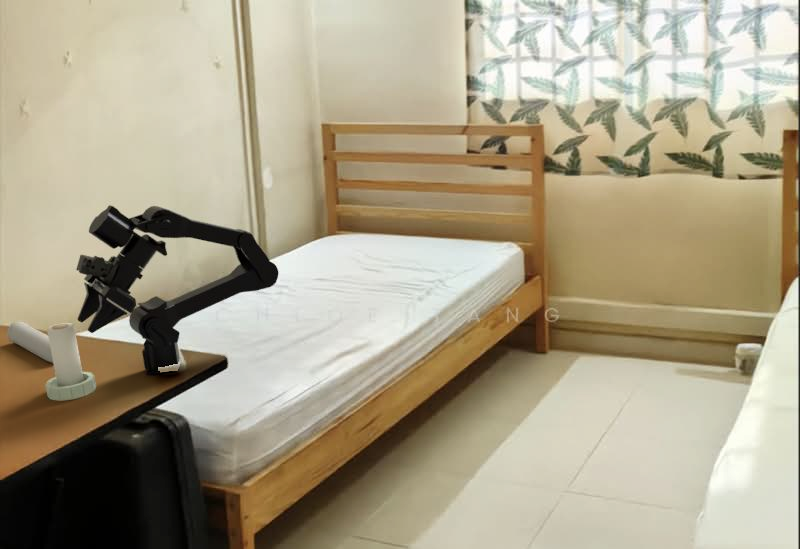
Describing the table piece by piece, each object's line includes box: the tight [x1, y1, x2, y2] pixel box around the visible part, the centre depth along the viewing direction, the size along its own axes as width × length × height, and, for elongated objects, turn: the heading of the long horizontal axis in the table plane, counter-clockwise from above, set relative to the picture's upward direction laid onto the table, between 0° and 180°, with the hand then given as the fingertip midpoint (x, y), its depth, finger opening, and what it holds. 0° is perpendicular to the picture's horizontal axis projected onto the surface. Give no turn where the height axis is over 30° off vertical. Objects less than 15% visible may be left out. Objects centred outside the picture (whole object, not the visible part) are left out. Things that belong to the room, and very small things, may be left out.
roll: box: [46, 322, 84, 387], centre depth 193 cm, size 5×5×13 cm
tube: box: [6, 320, 53, 364], centre depth 222 cm, size 5×5×25 cm
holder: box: [45, 371, 97, 402], centre depth 195 cm, size 9×9×2 cm
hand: (84, 326), depth 194 cm, fingers open, 9 cm apart
